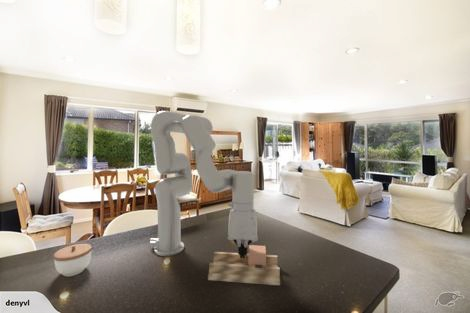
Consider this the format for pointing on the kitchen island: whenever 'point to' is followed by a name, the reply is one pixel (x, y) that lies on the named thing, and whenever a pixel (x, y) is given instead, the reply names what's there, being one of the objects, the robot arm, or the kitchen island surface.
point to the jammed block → (257, 255)
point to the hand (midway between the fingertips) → (242, 256)
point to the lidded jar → (72, 259)
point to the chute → (243, 269)
